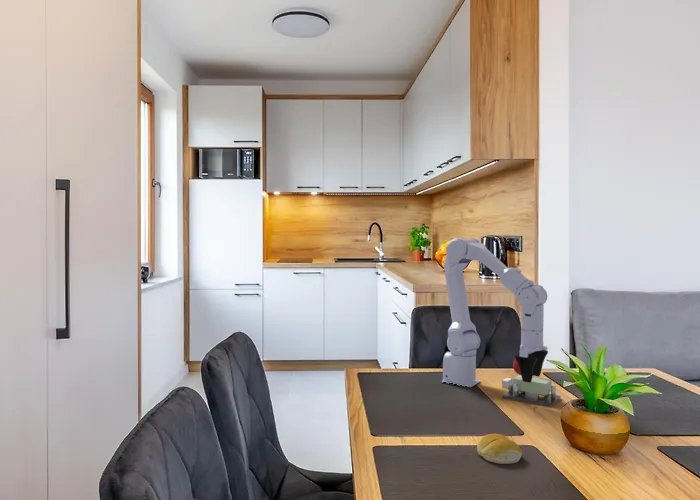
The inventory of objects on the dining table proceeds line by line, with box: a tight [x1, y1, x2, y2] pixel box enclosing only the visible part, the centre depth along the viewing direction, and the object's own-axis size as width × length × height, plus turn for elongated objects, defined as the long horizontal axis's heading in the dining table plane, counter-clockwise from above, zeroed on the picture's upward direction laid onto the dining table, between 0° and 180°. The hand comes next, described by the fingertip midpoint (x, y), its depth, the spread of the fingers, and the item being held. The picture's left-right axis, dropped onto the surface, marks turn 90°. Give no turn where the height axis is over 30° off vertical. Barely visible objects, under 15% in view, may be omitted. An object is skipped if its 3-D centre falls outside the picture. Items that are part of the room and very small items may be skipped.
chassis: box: [502, 378, 562, 408], centre depth 143 cm, size 13×9×4 cm
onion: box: [512, 358, 521, 375], centre depth 166 cm, size 6×6×8 cm
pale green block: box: [512, 374, 553, 395], centre depth 143 cm, size 9×5×3 cm, turn 54°
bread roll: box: [476, 433, 523, 465], centre depth 105 cm, size 8×9×4 cm
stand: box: [501, 377, 511, 389], centre depth 153 cm, size 8×3×2 cm, turn 53°
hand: (531, 378), depth 143 cm, fingers open, 7 cm apart
